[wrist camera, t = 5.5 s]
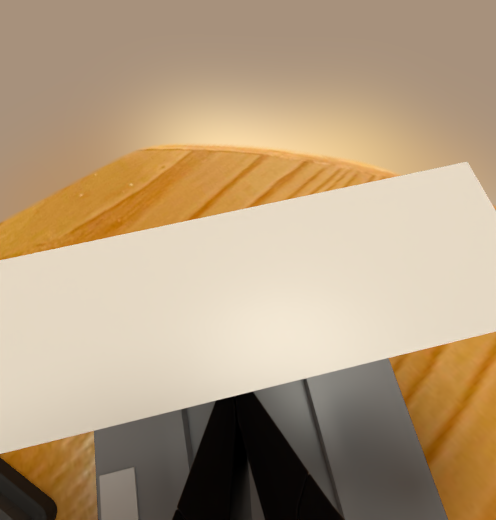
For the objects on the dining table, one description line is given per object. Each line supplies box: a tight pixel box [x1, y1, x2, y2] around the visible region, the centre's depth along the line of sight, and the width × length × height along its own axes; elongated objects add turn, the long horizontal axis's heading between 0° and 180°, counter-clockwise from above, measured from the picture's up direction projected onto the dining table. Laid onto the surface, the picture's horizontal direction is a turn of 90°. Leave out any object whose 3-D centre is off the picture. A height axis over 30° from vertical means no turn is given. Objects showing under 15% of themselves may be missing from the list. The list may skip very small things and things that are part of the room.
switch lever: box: [0, 162, 496, 454], centre depth 10 cm, size 4×11×11 cm, turn 103°
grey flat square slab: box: [94, 358, 448, 520], centre depth 15 cm, size 15×15×2 cm
